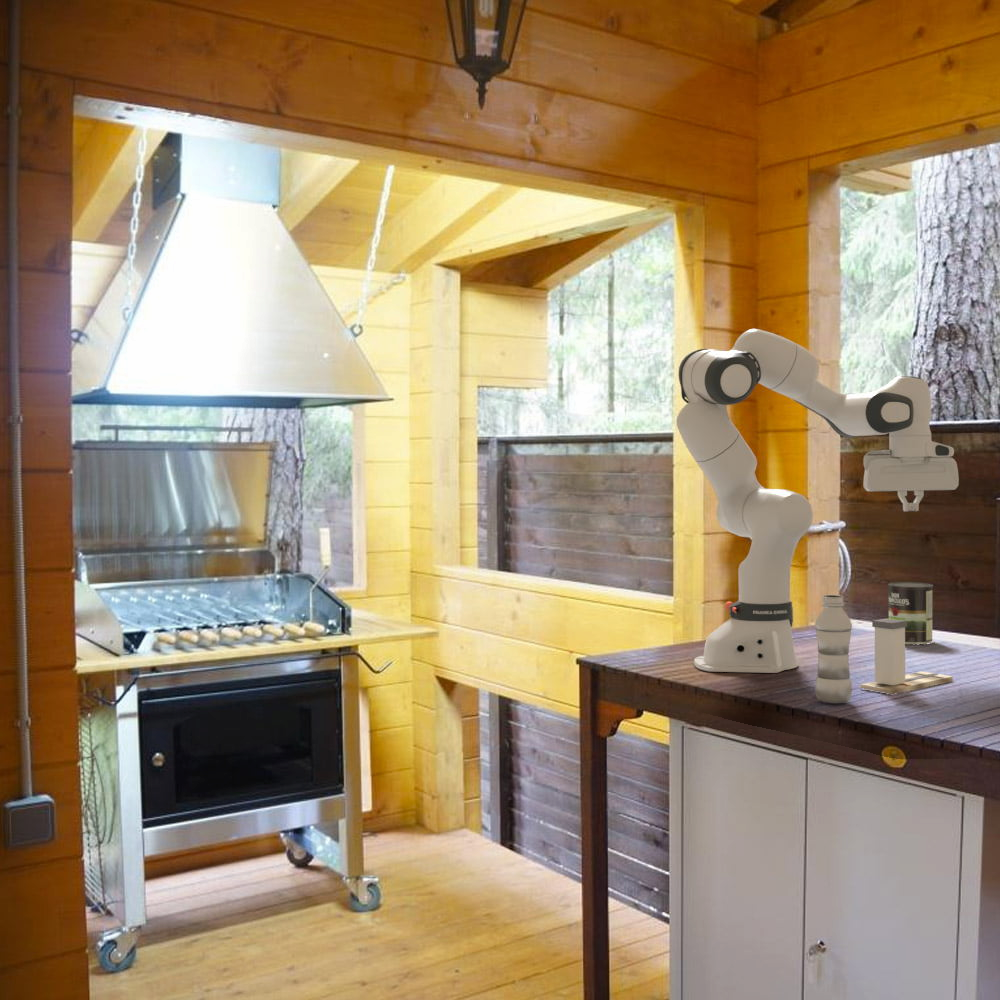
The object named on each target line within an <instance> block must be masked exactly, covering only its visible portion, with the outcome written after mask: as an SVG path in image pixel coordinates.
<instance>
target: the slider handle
mask: <svg viewBox="0 0 1000 1000" xmlns="http://www.w3.org/2000/svg"><path fill="white" fill-rule="evenodd" d="M871 623H872V627H874V682H876V683H881V684H887V685H897V684H902V683H905V675H906V645H905V627H907V621H905V620H897V619H889V617H888V618H880V619H875V620H873V619H872V622H871Z"/></svg>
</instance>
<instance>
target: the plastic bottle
mask: <svg viewBox="0 0 1000 1000" xmlns="http://www.w3.org/2000/svg"><path fill="white" fill-rule="evenodd" d="M821 606H822V607H823V609H822V611H821V612H820V613H819V614H818V617H816V620H815V623H814V627H815V635H816V642H817V652H818V662H817V674H816V675H817V677H816V679H815V685H814V690H815V695H816V698H817V699H818V701H820V702H823V703H827V704H831V703H838V704H842V703H848V702H849V701H850V700H851V698H852V694H853V687H852V686H853V685H852V680H851V676H850V675H851V674H850V673H851V672H850V663H849V662H850V661H849V656H850V655H849V653H850V644H851V643H850V642H851V635H852V628H853V625H852V622H851V619H850V617H849V616H848V615H847V613H846V612H845V610H844V609H843V607H845V603H844V596H843V595H840V594H839V595H838V594H825V595H822V603H821Z"/></svg>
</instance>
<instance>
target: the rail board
mask: <svg viewBox="0 0 1000 1000" xmlns="http://www.w3.org/2000/svg"><path fill="white" fill-rule="evenodd" d="M953 678H954V677H953V675H946V674H939V673H933V672H927V671H918V672H913V673H908V674H905V683H902V684H897V685H887V684H881V683H876V682H875V681H870V682H865V683H861V684H860V689H861V688H864V689H869V690H874V691H879V692H885V693H889V694H895V693H899V694H901V693H900V692H904V693H906V692H905V691H908V692H911V690H912V691H916V689H917V690H921V689H926V688H930V687H934V685H935V686H937V685H938V684H939V685H942V684H947V682H948V683H952V682H953V681H954V679H953ZM951 681H952V682H951ZM939 685H938V686H939ZM929 686H930V687H929ZM925 687H926V688H925ZM920 688H921V689H920ZM895 695H896V694H895Z"/></svg>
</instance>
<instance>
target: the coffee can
mask: <svg viewBox="0 0 1000 1000" xmlns="http://www.w3.org/2000/svg"><path fill="white" fill-rule="evenodd" d="M887 587H888V618H889V619H897V620H905V621H907V627H905V644H927V643H931V642H932V641H933V588H934V585H933V584H931V583H926V582H913V581H898V582H896V581H895V582H889V583H887ZM931 644H932V643H931ZM927 645H928V644H927Z"/></svg>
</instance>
